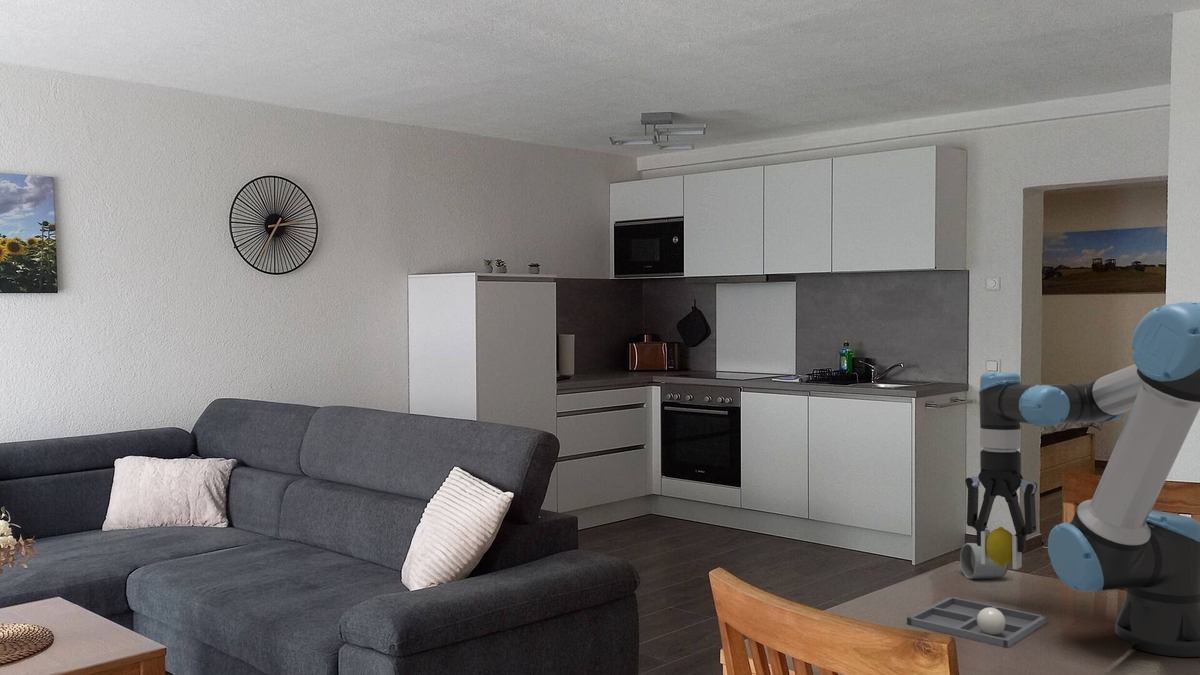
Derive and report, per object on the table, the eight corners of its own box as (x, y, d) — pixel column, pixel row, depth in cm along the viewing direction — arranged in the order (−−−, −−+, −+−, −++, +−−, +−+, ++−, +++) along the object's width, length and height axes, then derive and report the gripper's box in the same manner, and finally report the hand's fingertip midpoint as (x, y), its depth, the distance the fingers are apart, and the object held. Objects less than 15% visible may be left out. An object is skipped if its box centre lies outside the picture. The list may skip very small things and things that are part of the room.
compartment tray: (1046, 628, 179) (1046, 616, 179) (1007, 653, 165) (1007, 640, 165) (950, 607, 191) (950, 596, 191) (907, 629, 178) (907, 617, 178)
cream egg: (1009, 634, 172) (1010, 607, 172) (999, 641, 169) (999, 613, 169) (983, 628, 176) (983, 602, 176) (972, 634, 172) (972, 608, 172)
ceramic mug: (1011, 581, 210) (1011, 546, 210) (975, 582, 209) (975, 547, 209) (986, 569, 221) (986, 535, 220) (952, 570, 220) (952, 536, 220)
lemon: (1019, 570, 190) (1018, 530, 189) (989, 569, 191) (989, 529, 191) (1012, 564, 195) (1012, 524, 195) (983, 562, 196) (983, 523, 196)
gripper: (1055, 451, 189) (1056, 569, 189) (962, 444, 202) (963, 555, 202) (1041, 455, 184) (1042, 576, 184) (947, 447, 196) (948, 561, 197)
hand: (1001, 565), depth 193 cm, fingers closed on lemon, 5 cm apart
